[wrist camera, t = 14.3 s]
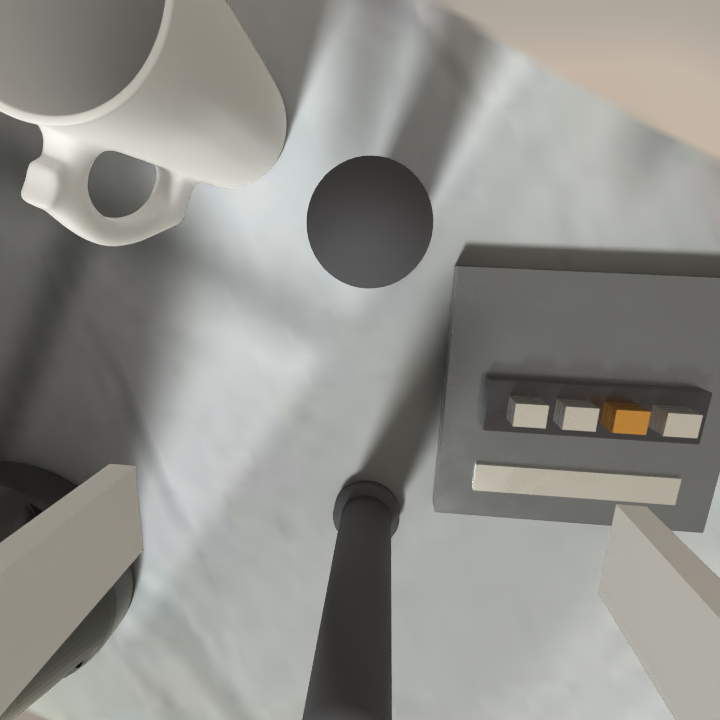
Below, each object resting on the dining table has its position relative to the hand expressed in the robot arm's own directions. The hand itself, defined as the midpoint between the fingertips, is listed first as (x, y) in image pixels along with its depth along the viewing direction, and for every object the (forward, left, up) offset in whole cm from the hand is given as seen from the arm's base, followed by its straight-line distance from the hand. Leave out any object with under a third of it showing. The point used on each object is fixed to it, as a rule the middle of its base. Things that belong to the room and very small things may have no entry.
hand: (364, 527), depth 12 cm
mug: (-9, +12, -13) cm, 20 cm away
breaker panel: (+11, 0, -13) cm, 17 cm away
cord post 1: (0, +8, -13) cm, 15 cm away
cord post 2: (0, -8, -13) cm, 15 cm away
